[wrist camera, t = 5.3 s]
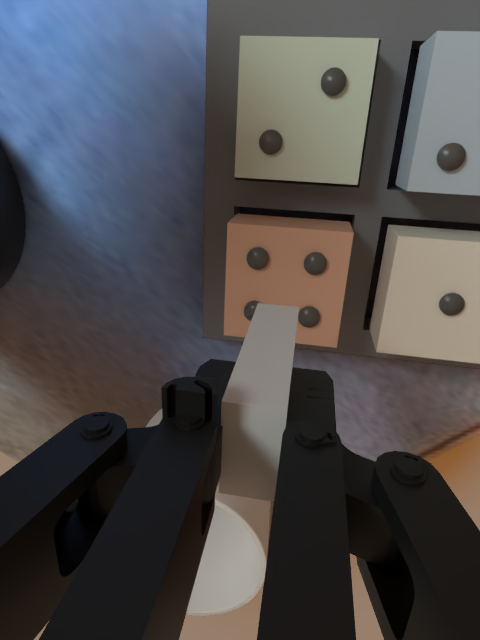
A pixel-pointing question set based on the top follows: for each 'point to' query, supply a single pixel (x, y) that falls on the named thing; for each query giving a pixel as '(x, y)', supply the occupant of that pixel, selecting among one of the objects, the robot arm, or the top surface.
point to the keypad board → (372, 191)
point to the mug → (230, 553)
